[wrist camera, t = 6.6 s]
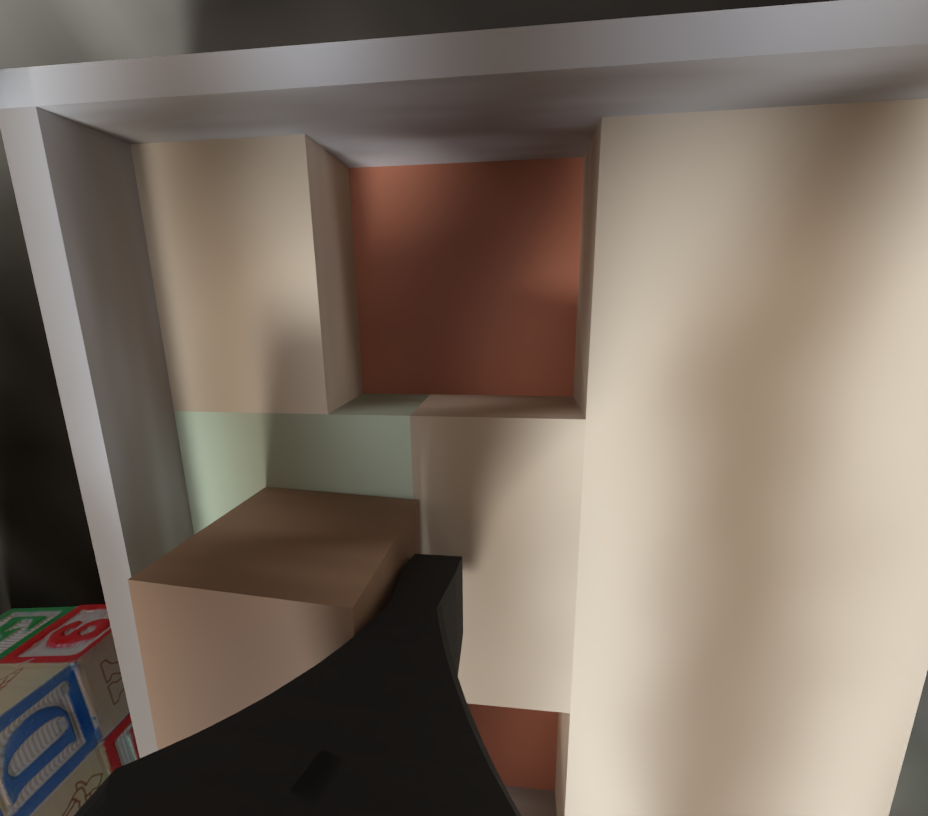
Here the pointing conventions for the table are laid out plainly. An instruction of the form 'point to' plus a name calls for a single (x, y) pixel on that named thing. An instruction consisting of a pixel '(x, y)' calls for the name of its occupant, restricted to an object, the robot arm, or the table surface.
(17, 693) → the stack of blocks
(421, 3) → the table surface
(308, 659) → the walnut block
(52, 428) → the table surface
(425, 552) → the board
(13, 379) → the table surface
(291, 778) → the robot arm
